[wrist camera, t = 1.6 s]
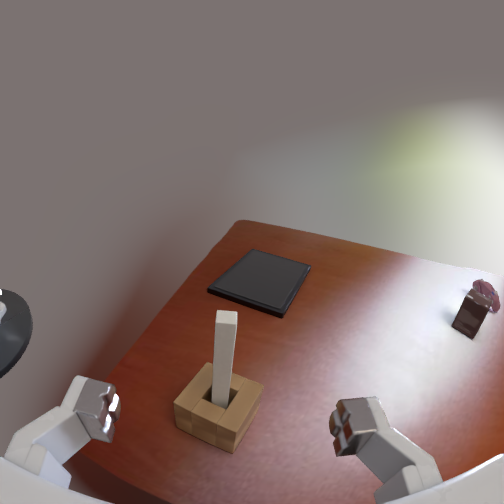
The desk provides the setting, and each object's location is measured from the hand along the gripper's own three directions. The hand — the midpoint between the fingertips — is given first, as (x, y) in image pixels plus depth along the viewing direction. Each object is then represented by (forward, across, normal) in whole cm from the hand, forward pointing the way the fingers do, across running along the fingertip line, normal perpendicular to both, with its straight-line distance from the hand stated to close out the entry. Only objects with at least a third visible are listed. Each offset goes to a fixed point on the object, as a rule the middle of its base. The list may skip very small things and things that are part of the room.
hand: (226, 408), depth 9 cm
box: (+29, -49, +20) cm, 60 cm away
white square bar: (+12, 0, +20) cm, 23 cm away
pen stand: (+12, 0, +20) cm, 23 cm away
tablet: (+44, -7, +20) cm, 49 cm away
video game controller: (+38, -64, +20) cm, 77 cm away
